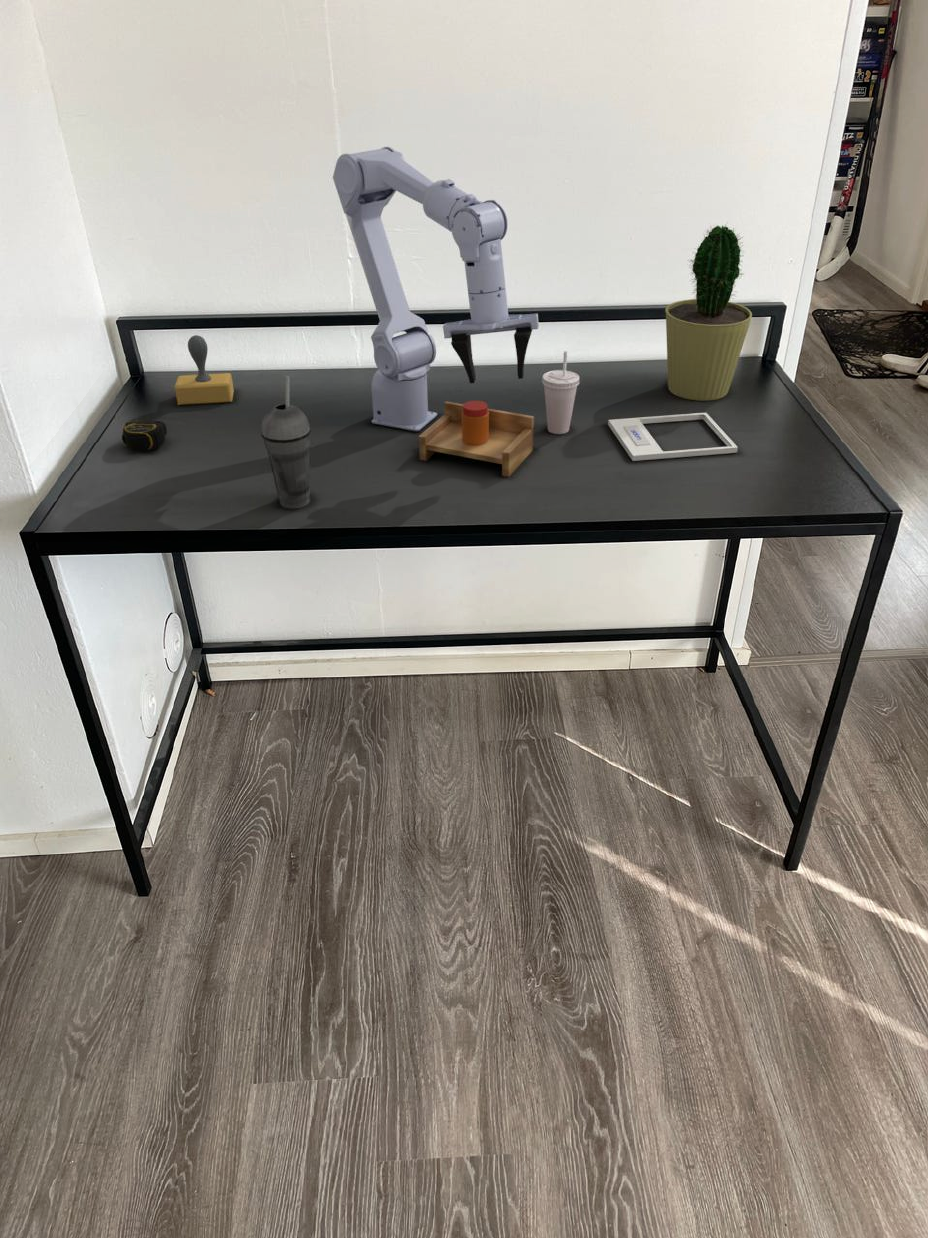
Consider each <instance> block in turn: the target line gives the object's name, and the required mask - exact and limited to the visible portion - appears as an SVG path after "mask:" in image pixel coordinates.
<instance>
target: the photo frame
mask: <svg viewBox="0 0 928 1238" xmlns="http://www.w3.org/2000/svg"><path fill="white" fill-rule="evenodd" d="M697 420H703V421H704V423H706V424H707V425H708V427H709V428H710V429H711V430H712V431H713V432H714V433H715V435H717V436H718V438H719V439H720V440H721V441H722V442H723V443H724V444H725V446H716V447H715V446H714V447H705V448H690V449H679V450H678V449H677V450H667V451H665V450H662V448H661V447H660V445H659V444H658V442H657V441H656V440H655V439H654V437H653V436H652V435H651V433H650V432H649V430H648V429H647V428H646V427H645V425H646V424H658V423H671V422H684V421H697ZM644 424H645V425H644ZM607 425H608V427H609V428H610V430H611V431H612V433H613V435H614V436H615V437H616V439H617V440H618V442H619V444H620V445H621V447H623V449H624V450H625V452H626V454H627V455H628V457H629V458H630V459H631V462H636V461H637V462H638V461H648V460H661V459H675V458H685V457H698V456H699V457H700V456H712V455H725V454H735V453H738V449H739V447H738V446H737V445H736V443H735V442H734V441H733V440H732V439H731V438H730V437H729V436H728V435H727V434H726V432H725V431H723V429H722V428H721V427H720V426H719V425H718V423H716V421H715V420H714V419H713V418H712V417H711V416H710V415H709V414H708V413H707V412H695V413H682V414H670V415H668V414H667V415H656V416H655V415H653V416H643V417H630V418H629V417H628V418H616V419H615V418H614V419H608V422H607Z"/></svg>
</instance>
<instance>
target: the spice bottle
mask: <svg viewBox="0 0 928 1238" xmlns="http://www.w3.org/2000/svg"><path fill="white" fill-rule="evenodd" d="M462 404H463V411H462V441H463V442H464V443H466V444H468V445H482V444H485V443H487V442H488V440H489V412H488V409H489V407H488V404H487V402H485V401H483V400H469V401H466V402H464V403H462Z"/></svg>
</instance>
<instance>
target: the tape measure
mask: <svg viewBox="0 0 928 1238" xmlns="http://www.w3.org/2000/svg"><path fill="white" fill-rule="evenodd" d="M167 433H168V429H167V425H166V423H165V422H163V421H159V420H142V421H141V420H140V421H128V422H125V424H124V427H123V429H122V434H121V441H122V443H123V444H124V445H126V447H127V448H128V449H130V450H134V451H152V450H153V449H156V448H158V447H161V446H163V444H164V443H165V442H166V435H167Z"/></svg>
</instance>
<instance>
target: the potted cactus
mask: <svg viewBox="0 0 928 1238" xmlns="http://www.w3.org/2000/svg"><path fill="white" fill-rule="evenodd" d="M728 223H729V221H727V222H726V224H725V225H721V226H720V225H716V224H714V227H712V225H711V224H709V225H710V226H708V227H709V228H708V229H707V228H706V230H704V232H705V233H704V232H702V233H703V239H701V241H702V242H700V245H698V247H697V248H696V247H694V249H695V250H696V251H694V252H693V251H692V253H693V254H694V258H693V259H692V260H688V262H689V263H691V264H692V266H691V265H688V268H689V270H690V269H691V270H690V271H691V272H690V273H688V274H689V275H691V276H693V275H694V277H692V279H690V280H689V282H692V283H693V284H694V287H693V289H692V290H691V291H692V292H691V293H690V294H691V295H695V297H693V298H689V299H682V300H677V301H675V302H672V303H669V304H668V305H667V306H666V307H665V310H664V311H665V326H666V327H665V329H666V358H667V359H666V361H667V362H666V364H667V387H668V388H667V389H668V391H669V392H670V393H672V394H673V395H675V396H677V397H679V398H682V399H685V400H692V401H714V400H719V399H722V398H724V397H726V396H727V395H728V393H729V391H730V387H731V385H732V382H733V379H734V376H735V371H736V369H737V365H738V362H739V359H740V356H741V353H742V350H743V346H744V343H745V340H746V337H747V334H748V330H749V328H750V325H751V321H752V317H753V313H752V311H751V309H749V308H747V306H743V305H741V304H739V303H736V302H732V301H730V300H734V298H733V297H734V296H736V294H735V293H738V294H739V292H738V291H736V290H735V291H734V286H735V285H736V282H737V281H738V280H739V279H741V276H743V275H744V273H743V272H741V268H740V267H739V266H741V267H743V266H742V264H741V263H742V260H741V257H743V255H741V253H744V252H745V251H744V250H743V248H742V247H744V244H743V243H744V241H743V242H742V241H741V239H743V238H744V236H741V235H740V234H741V232H740V233H735V232H736V230H735V228H732V229H730V228H729V227H728V226H727V224H728ZM709 229H710V230H709ZM740 241H741V242H740ZM741 244H742V245H741ZM733 292H734V293H733Z"/></svg>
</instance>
